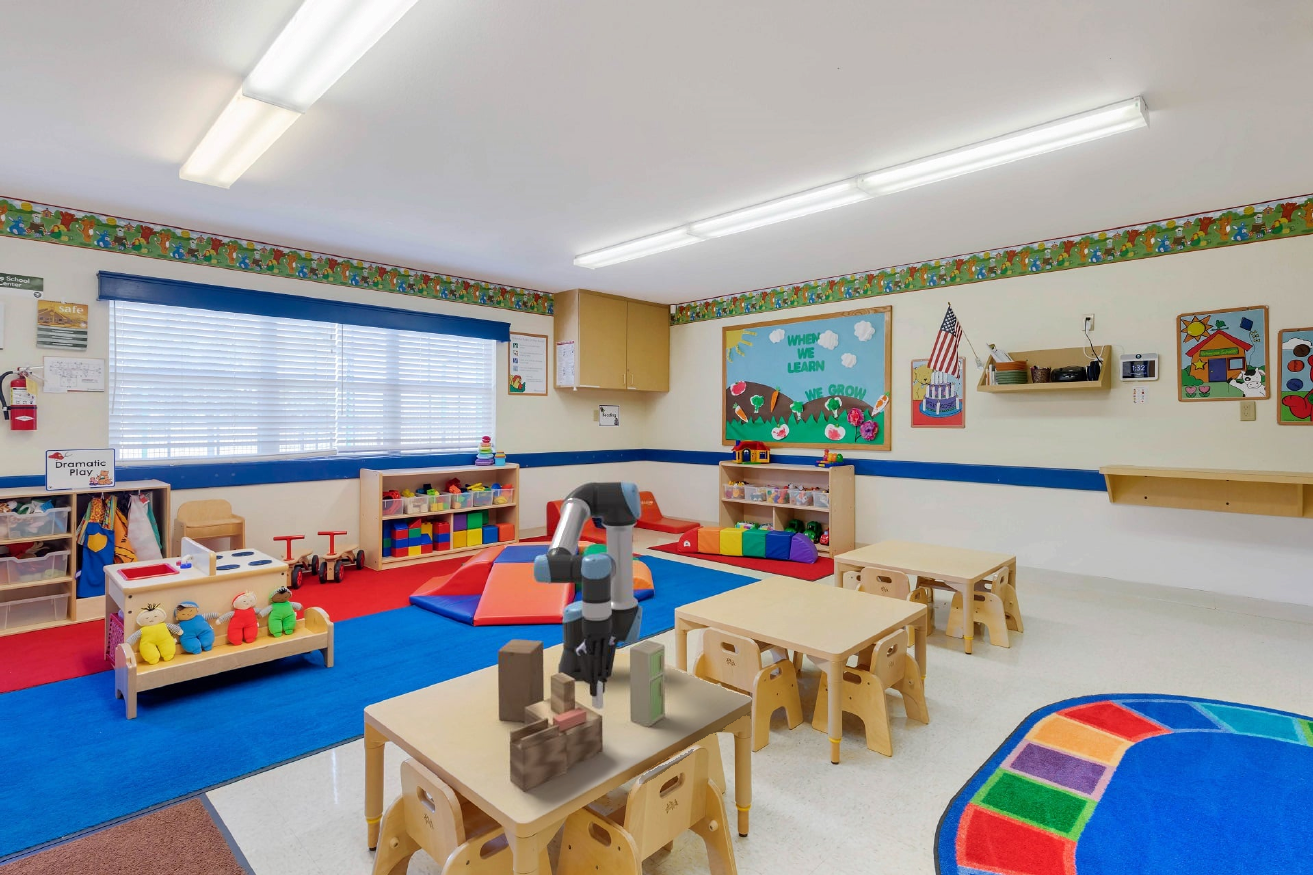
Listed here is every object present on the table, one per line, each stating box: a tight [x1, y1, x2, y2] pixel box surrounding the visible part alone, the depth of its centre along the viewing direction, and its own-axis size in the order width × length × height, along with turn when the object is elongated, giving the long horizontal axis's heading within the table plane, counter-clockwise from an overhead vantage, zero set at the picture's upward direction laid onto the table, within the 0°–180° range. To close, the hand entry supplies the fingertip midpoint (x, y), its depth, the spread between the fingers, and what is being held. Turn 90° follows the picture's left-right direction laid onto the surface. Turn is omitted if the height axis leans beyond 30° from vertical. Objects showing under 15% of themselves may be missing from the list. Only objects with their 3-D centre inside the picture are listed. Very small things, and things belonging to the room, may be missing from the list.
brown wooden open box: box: [509, 712, 604, 792], centre depth 160 cm, size 24×20×12 cm
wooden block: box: [497, 638, 545, 723], centre depth 183 cm, size 10×10×20 cm
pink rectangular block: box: [553, 707, 587, 732], centre depth 157 cm, size 8×3×2 cm, turn 132°
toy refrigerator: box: [629, 640, 666, 728], centre depth 179 cm, size 8×7×21 cm
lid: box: [525, 673, 603, 735], centre depth 164 cm, size 12×18×10 cm, turn 42°
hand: (597, 706), depth 162 cm, fingers closed
